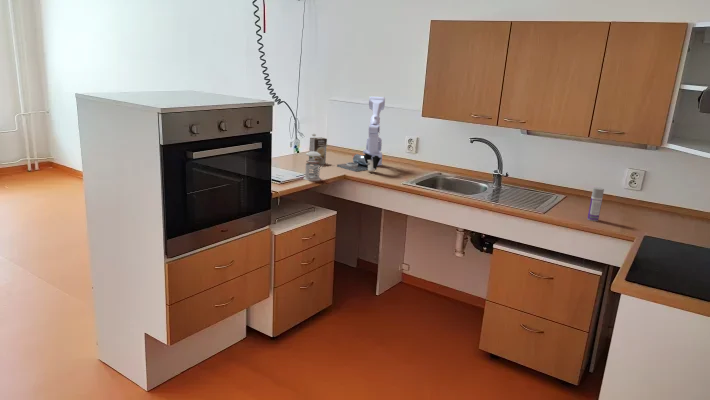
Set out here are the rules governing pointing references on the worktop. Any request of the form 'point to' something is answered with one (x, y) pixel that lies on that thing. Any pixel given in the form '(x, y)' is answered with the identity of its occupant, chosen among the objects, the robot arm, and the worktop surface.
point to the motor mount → (355, 164)
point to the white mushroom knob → (370, 165)
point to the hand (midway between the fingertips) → (371, 167)
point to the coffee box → (318, 149)
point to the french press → (315, 168)
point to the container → (595, 204)
